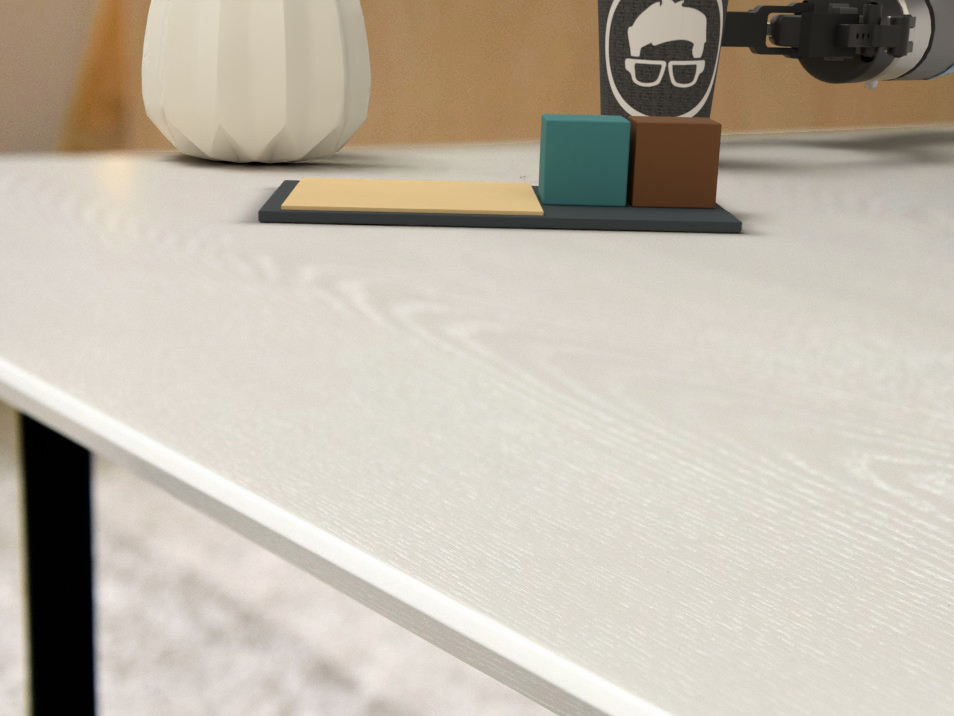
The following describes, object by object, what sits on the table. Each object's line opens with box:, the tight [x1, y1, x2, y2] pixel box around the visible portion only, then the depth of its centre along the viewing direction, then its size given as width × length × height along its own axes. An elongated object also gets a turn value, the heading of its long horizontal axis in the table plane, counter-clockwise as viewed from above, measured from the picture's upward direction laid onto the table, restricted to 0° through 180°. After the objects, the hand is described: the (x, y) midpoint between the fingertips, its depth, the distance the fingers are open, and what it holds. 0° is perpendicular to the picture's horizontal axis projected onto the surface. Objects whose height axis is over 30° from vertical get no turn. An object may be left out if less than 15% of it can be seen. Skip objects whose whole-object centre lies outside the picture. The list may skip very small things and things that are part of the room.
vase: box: [140, 0, 372, 164], centre depth 100 cm, size 14×14×13 cm
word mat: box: [257, 113, 743, 234], centre depth 80 cm, size 22×13×4 cm, turn 89°
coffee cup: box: [597, 0, 729, 120], centre depth 103 cm, size 10×10×15 cm
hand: (711, 31), depth 107 cm, fingers open, 13 cm apart
